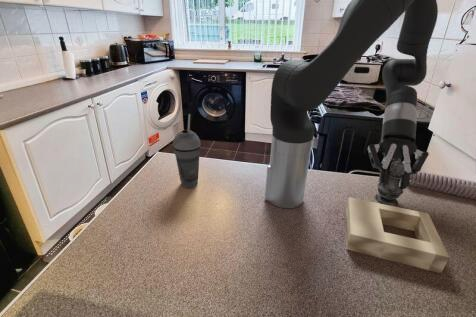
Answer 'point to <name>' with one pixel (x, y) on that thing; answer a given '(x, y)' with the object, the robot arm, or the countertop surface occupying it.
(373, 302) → the countertop surface
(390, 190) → the grey tall knobbed piece
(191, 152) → the beverage cup
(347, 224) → the jig
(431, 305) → the countertop surface
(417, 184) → the coil
